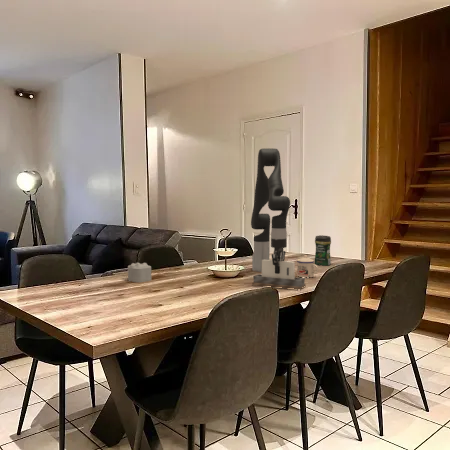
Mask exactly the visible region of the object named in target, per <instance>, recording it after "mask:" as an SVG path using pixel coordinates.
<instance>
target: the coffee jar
mask: <svg viewBox="0 0 450 450" xmlns="http://www.w3.org/2000/svg"><path fill="white" fill-rule="evenodd" d="M331 238H332V237H331V236H328V235H322V234H321V235H319V234H318V235H315V239H314V244H315V255H314V264H315V265H317V266H320V265H322V266H323V267H326V266H327V267H329V266H330V265H331V264H332V262H331V244H332V239H331Z"/></svg>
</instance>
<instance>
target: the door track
mask: <svg viewBox="0 0 450 450" xmlns="http://www.w3.org/2000/svg"><path fill="white" fill-rule="evenodd" d="M305 279H306V278H299V277H296V276H295V279H284V278H272V277H262V273H258V274H256V275H254V276H253V282H251V283H252V285H251V286H252V287H261V288H264V287H263V286H271V287H282V288H294V289H301V288H302V287H304V286H305V287H306V283H305Z"/></svg>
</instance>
